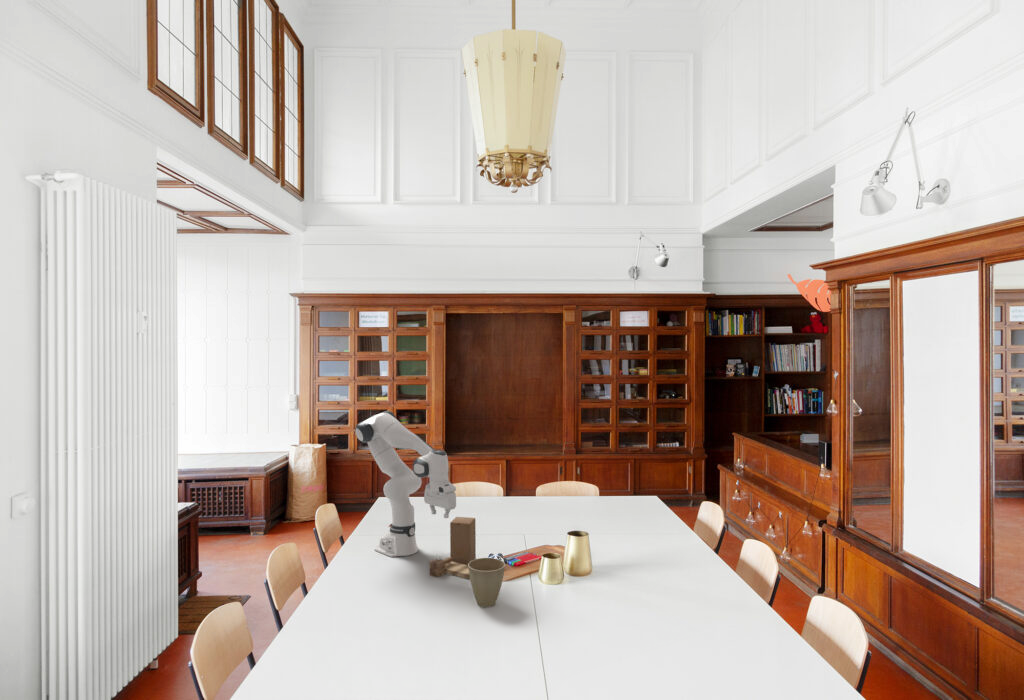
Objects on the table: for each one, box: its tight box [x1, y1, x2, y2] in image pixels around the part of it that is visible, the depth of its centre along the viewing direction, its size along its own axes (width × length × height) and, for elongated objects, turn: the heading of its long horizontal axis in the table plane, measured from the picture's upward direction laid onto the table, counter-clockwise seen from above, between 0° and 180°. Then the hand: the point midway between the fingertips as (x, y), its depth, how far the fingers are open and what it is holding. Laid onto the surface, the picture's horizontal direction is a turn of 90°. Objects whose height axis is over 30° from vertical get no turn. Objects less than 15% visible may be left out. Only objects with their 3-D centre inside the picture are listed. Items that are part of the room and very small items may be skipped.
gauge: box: [428, 556, 453, 578], centre depth 278 cm, size 5×12×6 cm, turn 147°
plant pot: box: [468, 557, 506, 608], centre depth 243 cm, size 15×15×16 cm
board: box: [445, 562, 470, 580], centre depth 276 cm, size 24×9×2 cm, turn 57°
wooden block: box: [449, 516, 477, 565], centre depth 291 cm, size 10×10×20 cm
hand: (440, 515), depth 277 cm, fingers open, 8 cm apart
